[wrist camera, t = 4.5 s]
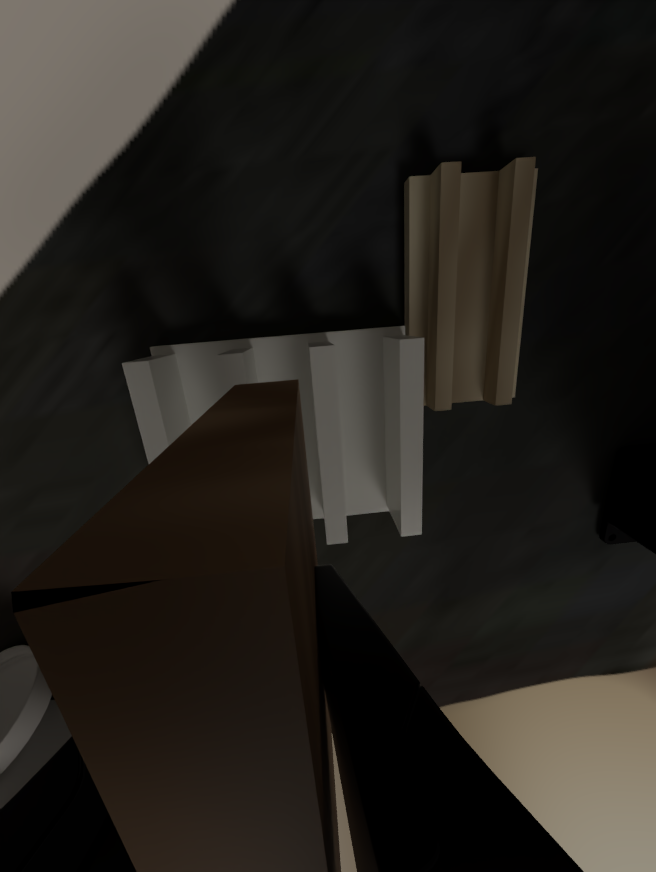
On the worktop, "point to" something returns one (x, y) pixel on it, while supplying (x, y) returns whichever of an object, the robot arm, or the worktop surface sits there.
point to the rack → (309, 410)
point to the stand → (468, 277)
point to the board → (199, 648)
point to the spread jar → (25, 721)
